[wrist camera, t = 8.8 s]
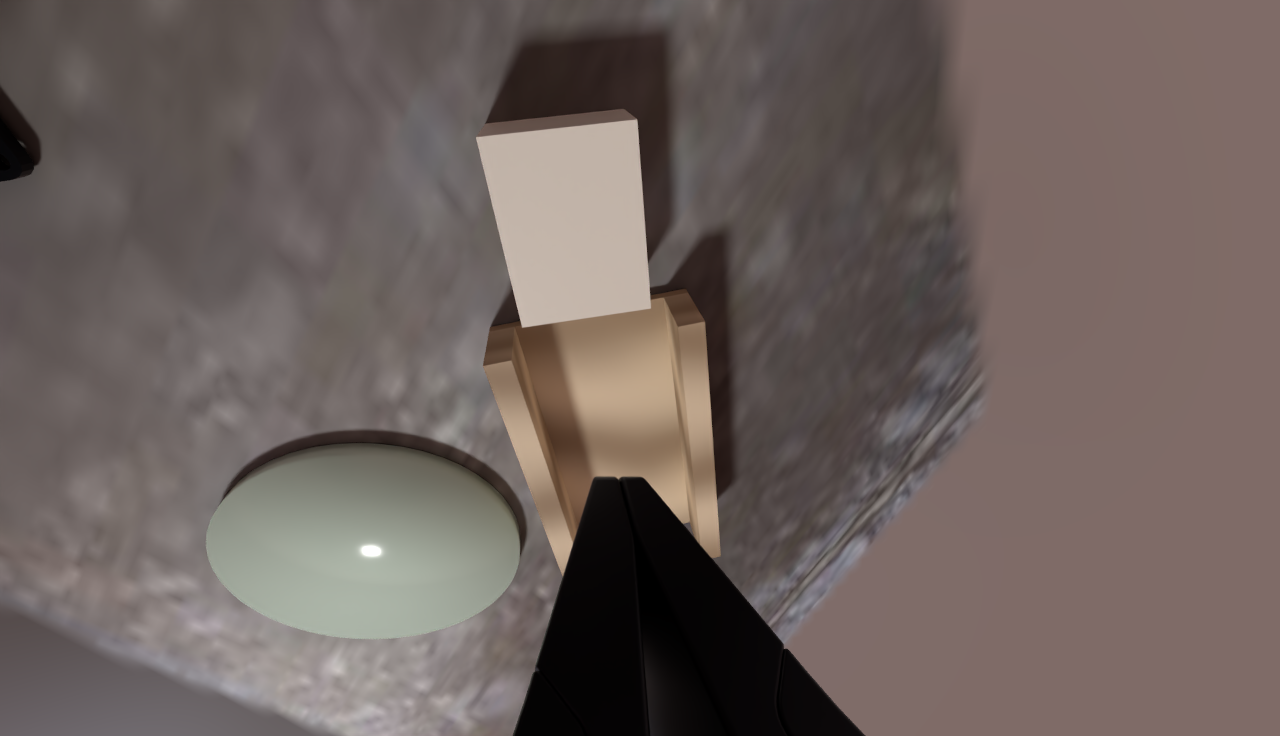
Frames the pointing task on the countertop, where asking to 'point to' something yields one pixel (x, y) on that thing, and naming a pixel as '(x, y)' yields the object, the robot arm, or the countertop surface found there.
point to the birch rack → (610, 411)
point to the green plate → (364, 541)
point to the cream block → (569, 213)
